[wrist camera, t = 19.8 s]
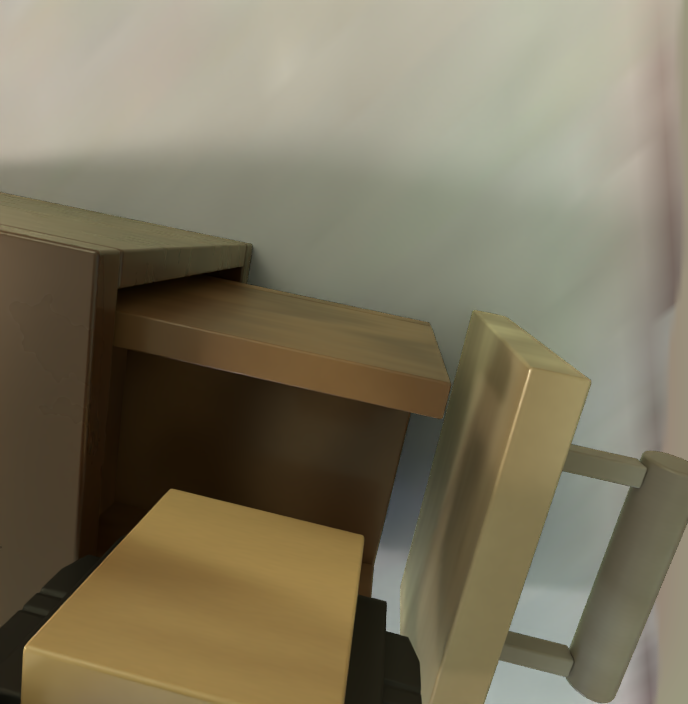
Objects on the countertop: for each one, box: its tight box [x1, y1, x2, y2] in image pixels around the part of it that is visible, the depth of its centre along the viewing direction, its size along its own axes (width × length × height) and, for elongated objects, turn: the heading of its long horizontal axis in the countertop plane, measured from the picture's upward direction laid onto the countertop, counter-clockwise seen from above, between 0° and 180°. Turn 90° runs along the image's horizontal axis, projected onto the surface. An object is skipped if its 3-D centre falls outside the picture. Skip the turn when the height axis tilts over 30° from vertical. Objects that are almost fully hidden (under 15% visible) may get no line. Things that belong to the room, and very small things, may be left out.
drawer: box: [96, 274, 688, 704], centre depth 15 cm, size 18×11×8 cm, turn 79°
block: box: [21, 489, 364, 704], centre depth 8 cm, size 4×4×4 cm
